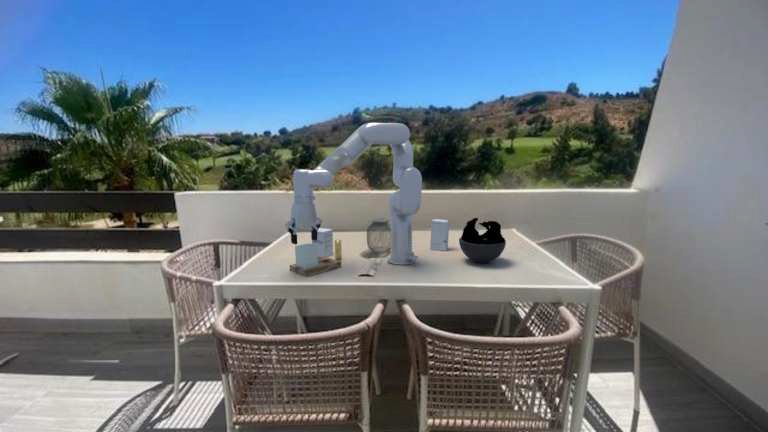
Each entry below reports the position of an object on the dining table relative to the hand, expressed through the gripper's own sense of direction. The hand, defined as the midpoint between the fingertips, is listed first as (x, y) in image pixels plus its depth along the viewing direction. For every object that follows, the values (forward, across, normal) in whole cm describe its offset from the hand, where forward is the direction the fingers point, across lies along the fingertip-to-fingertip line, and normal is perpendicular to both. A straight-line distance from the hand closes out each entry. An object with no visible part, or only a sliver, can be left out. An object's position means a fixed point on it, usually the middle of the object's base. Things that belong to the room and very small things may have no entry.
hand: (304, 241), depth 158 cm
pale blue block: (+10, -1, 0) cm, 10 cm away
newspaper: (+13, -22, +17) cm, 31 cm away
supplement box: (+12, -20, -15) cm, 28 cm away
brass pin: (+12, -21, -4) cm, 24 cm away
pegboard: (+12, -5, 0) cm, 13 cm away
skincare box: (+11, -67, +19) cm, 71 cm away
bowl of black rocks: (+11, -61, +46) cm, 78 cm away
